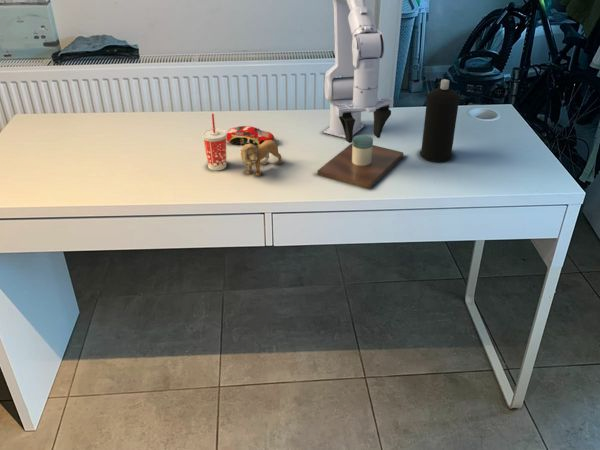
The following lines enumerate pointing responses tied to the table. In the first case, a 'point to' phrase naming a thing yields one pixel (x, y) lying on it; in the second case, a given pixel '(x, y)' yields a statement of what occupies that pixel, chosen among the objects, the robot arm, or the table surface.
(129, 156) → the table surface
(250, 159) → the lion figurine
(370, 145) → the cream jar
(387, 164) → the walnut board
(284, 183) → the table surface
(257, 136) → the race car
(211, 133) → the beverage cup
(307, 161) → the table surface
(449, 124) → the aerosol can
